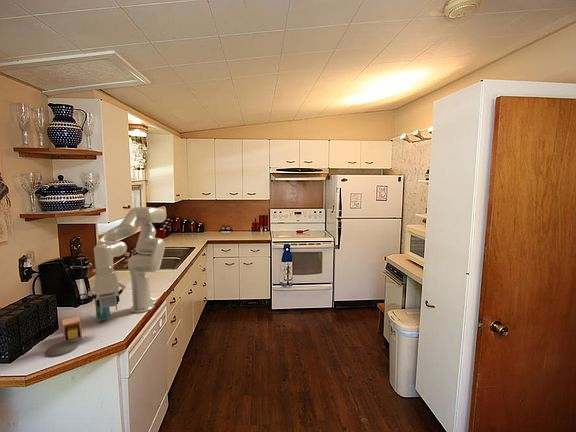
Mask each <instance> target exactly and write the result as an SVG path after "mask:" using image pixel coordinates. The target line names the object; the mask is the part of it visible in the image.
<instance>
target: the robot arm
mask: <svg viewBox="0 0 576 432" xmlns="http://www.w3.org/2000/svg"><path fill="white" fill-rule="evenodd" d="M166 219H167V212H166V210H165V209H164V208H162V207H151V206H149V207H148V206H135V207H132V208H130V210H129V211H128V213H127V214H126V215H125V217H124V218H123V219H122V221H121V222H120V223H119V224H118V225H116V226H114V227H112V228H111V229H109V230H108V231H106V232H105V233H104V234H103V235H102V236H101V237H100V238H99V239H98V241H97V243H96V245H95V246H94V247H93V255H94V262H95V263H94V264H95V268H94V269H92V271H91V272H92V273H95V274H94V276H93V277H94V278H93V285H94V286H93V287H92V288H90V290H89V291H88V292H87V295H88V296H90V297H91V298H92V299H94V300H95V299H96V301H97V306H99V308H100V301H99V296H100V295H104V294H110V293H116V301H117V305H119V302H120V295H122V293H123V291H124V290H125V289H126V287H127V286H126V285H124V284H122V283H120V282H119V278H118V275H117V271H116V270H115V267H114V258H118V257H122V256H123V255H125V254H126V252H127V251H128V246H127V244H126V243H125V242H123V241H121V240H120V239H123V238H126V237H130V236H133V235H134V234H135V233H136V232H137V230H138V228H139V227H140V231H139V232H140V233H139V236H138V239H137V242H136V245H135V246H136V247H135V250H136V252H137V253H138V254H136V255H132V256H130V258H128V261H127V267H128V271H129V275H130V283H131V284H130V285H131V295H132V306H130V309H129V310H130V312H132V313H134V314H135V313H136V314H137V313H145V312H148V311H151V310H153V309H154V307H155V304H154V302H156V301H158V300H159V297H157V296H156V297H151V284H150V276H149V273H157V272H158V271H159V270H160V268H161V266H162V261H163V257H164V254H165V249H166V243H165V241H164V239H162V238H160V237H156V234H157V229H156V228H155V226H154V225H153V223H158V224H160V223H163V222H165V221H166ZM119 240H120V241H119ZM94 294H96V295H94Z"/></svg>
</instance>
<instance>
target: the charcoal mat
mask: <svg viewBox="0 0 576 432" xmlns="http://www.w3.org/2000/svg"><path fill="white" fill-rule="evenodd" d="M78 346H79V343H78V341H75V340H66V341H64V340H63V341H60V342H56V343H54V344H52V345H51V346H48V347H47V348H46V349H45V351H44V355H45V356H46V357H50V358H51V357H52V358H55V357H60V356H64V355H68V354H70V353H72V352H73V351H75V350H76V349H77V348H78Z"/></svg>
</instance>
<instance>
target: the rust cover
mask: <svg viewBox="0 0 576 432" xmlns="http://www.w3.org/2000/svg"><path fill="white" fill-rule="evenodd" d="M75 326H77V329H78V333H79V335H80V337H79V338H82V337H83V333H82V323H81V315H79V316H73V317H69V318H65V319H62V334H63V342H64V341H67V336H68V334H67V328H70V327H75Z"/></svg>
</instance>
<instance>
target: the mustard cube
mask: <svg viewBox="0 0 576 432" xmlns="http://www.w3.org/2000/svg"><path fill="white" fill-rule="evenodd" d="M67 334H68V335H67V339H68V340H70V339H74V338H78V337H79V332H78V329H77V326H75V327H70V328H67Z"/></svg>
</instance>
